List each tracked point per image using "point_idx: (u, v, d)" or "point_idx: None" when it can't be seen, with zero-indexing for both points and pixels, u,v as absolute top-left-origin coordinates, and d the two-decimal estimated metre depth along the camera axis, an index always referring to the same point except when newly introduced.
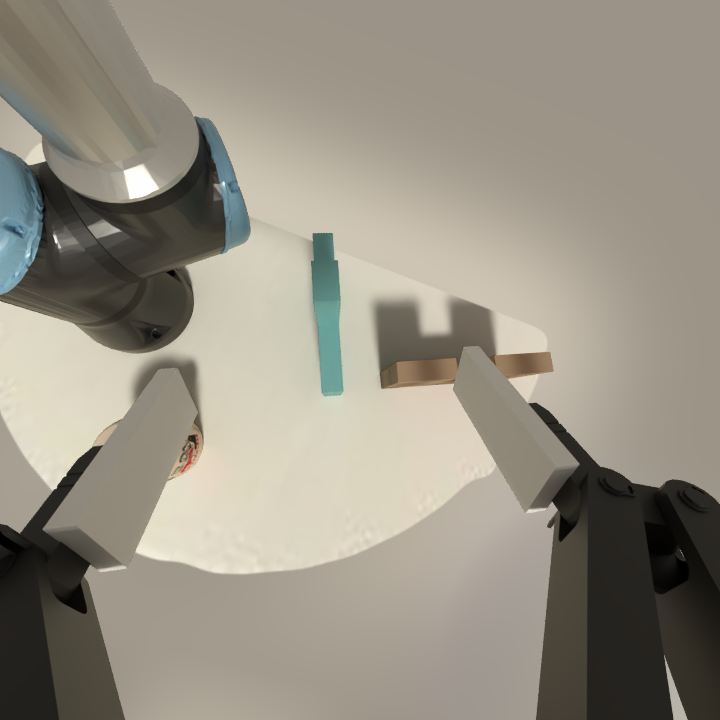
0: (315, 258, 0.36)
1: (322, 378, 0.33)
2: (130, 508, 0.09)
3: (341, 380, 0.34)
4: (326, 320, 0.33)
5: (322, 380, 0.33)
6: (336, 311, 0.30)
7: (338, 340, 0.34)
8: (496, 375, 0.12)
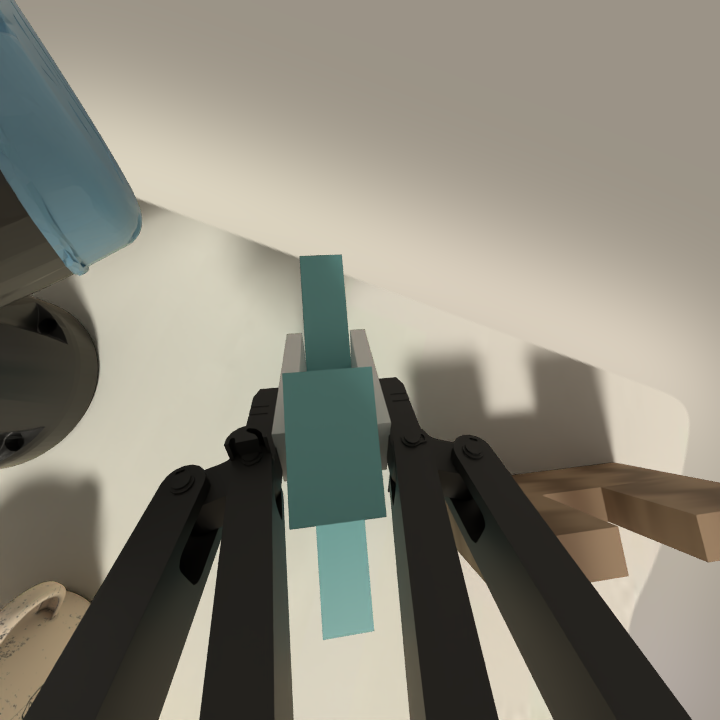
0: (306, 310, 0.17)
1: (324, 602, 0.14)
2: None
3: (369, 603, 0.14)
4: None
5: (324, 607, 0.14)
6: None
7: None
8: (364, 353, 0.13)
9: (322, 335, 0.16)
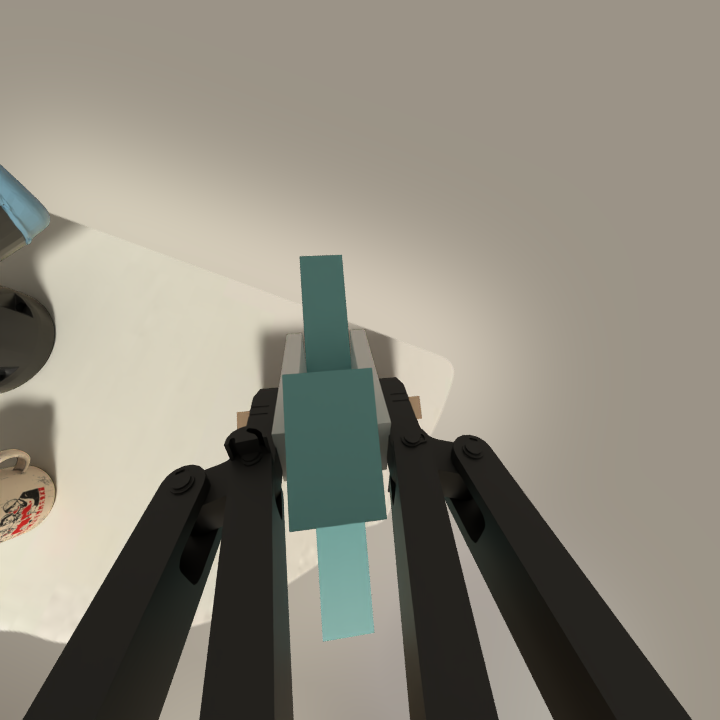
0: (305, 311, 0.16)
1: (324, 603, 0.14)
2: None
3: (369, 605, 0.14)
4: None
5: (324, 608, 0.14)
6: None
7: None
8: (364, 353, 0.13)
9: (322, 335, 0.16)
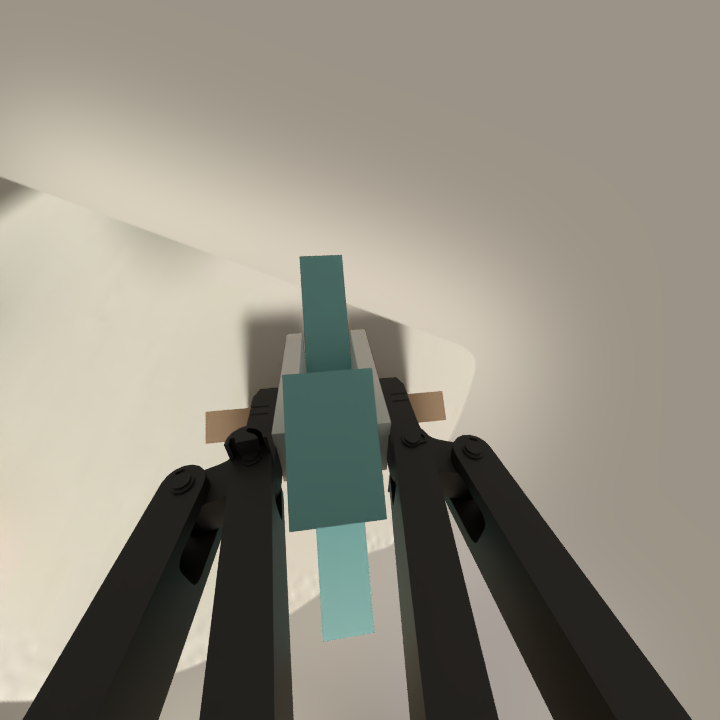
0: (306, 311, 0.16)
1: (324, 603, 0.14)
2: None
3: (369, 604, 0.14)
4: None
5: (324, 608, 0.14)
6: None
7: None
8: (364, 353, 0.13)
9: (322, 336, 0.16)
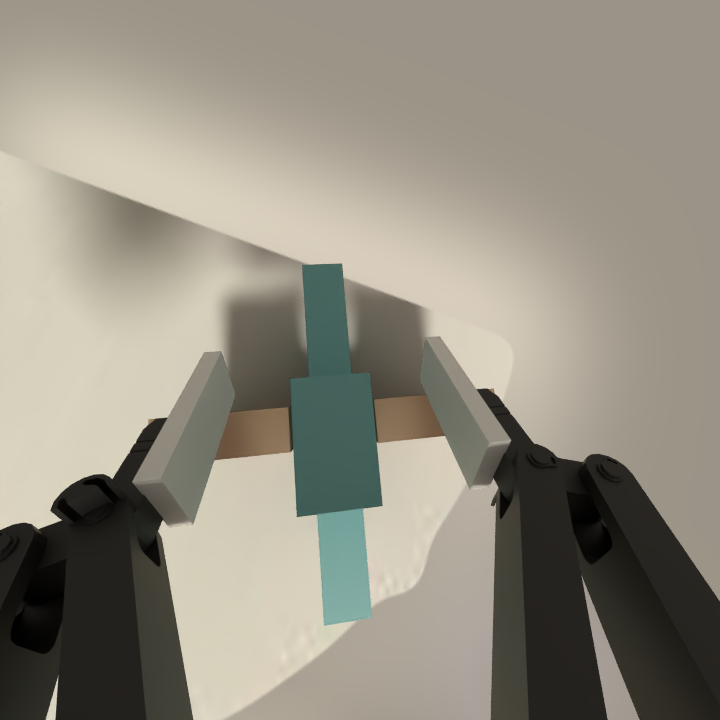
0: (308, 316, 0.17)
1: (325, 590, 0.15)
2: (193, 472, 0.10)
3: (367, 591, 0.15)
4: None
5: (325, 595, 0.15)
6: None
7: None
8: (451, 363, 0.13)
9: (323, 340, 0.17)
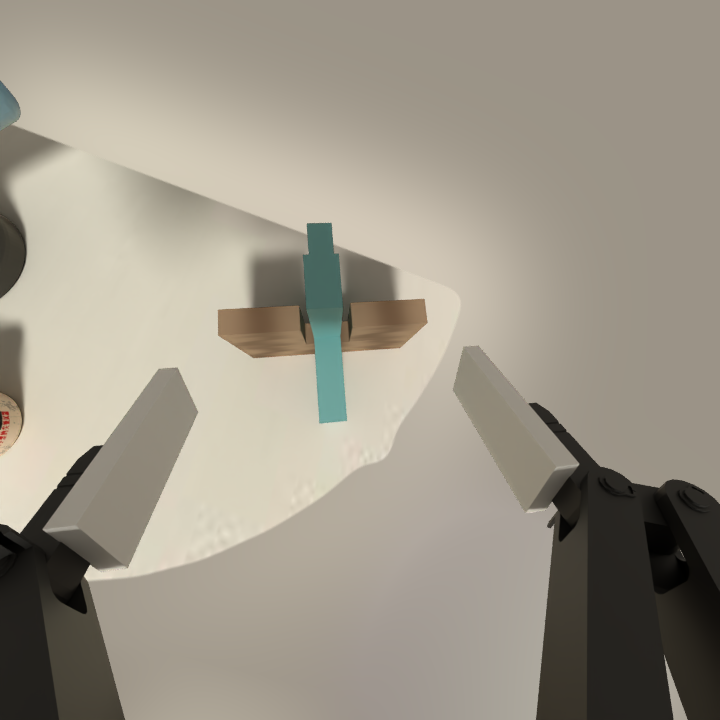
0: (310, 254, 0.29)
1: (320, 405, 0.26)
2: (130, 508, 0.09)
3: (344, 407, 0.27)
4: (324, 331, 0.26)
5: (320, 407, 0.26)
6: (337, 321, 0.23)
7: (339, 356, 0.27)
8: (496, 375, 0.12)
9: None
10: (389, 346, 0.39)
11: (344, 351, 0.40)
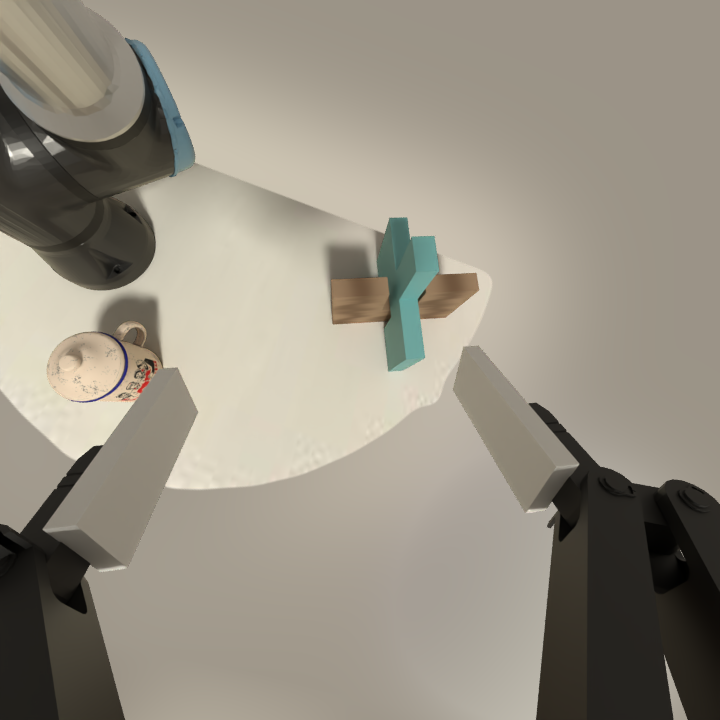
0: (393, 240, 0.39)
1: (406, 346, 0.37)
2: (130, 508, 0.09)
3: (422, 348, 0.37)
4: (410, 294, 0.36)
5: (406, 348, 0.37)
6: (426, 283, 0.34)
7: (417, 313, 0.38)
8: (496, 375, 0.12)
9: (400, 250, 0.39)
10: (438, 315, 0.49)
11: None
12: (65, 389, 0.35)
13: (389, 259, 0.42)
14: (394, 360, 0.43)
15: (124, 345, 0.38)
